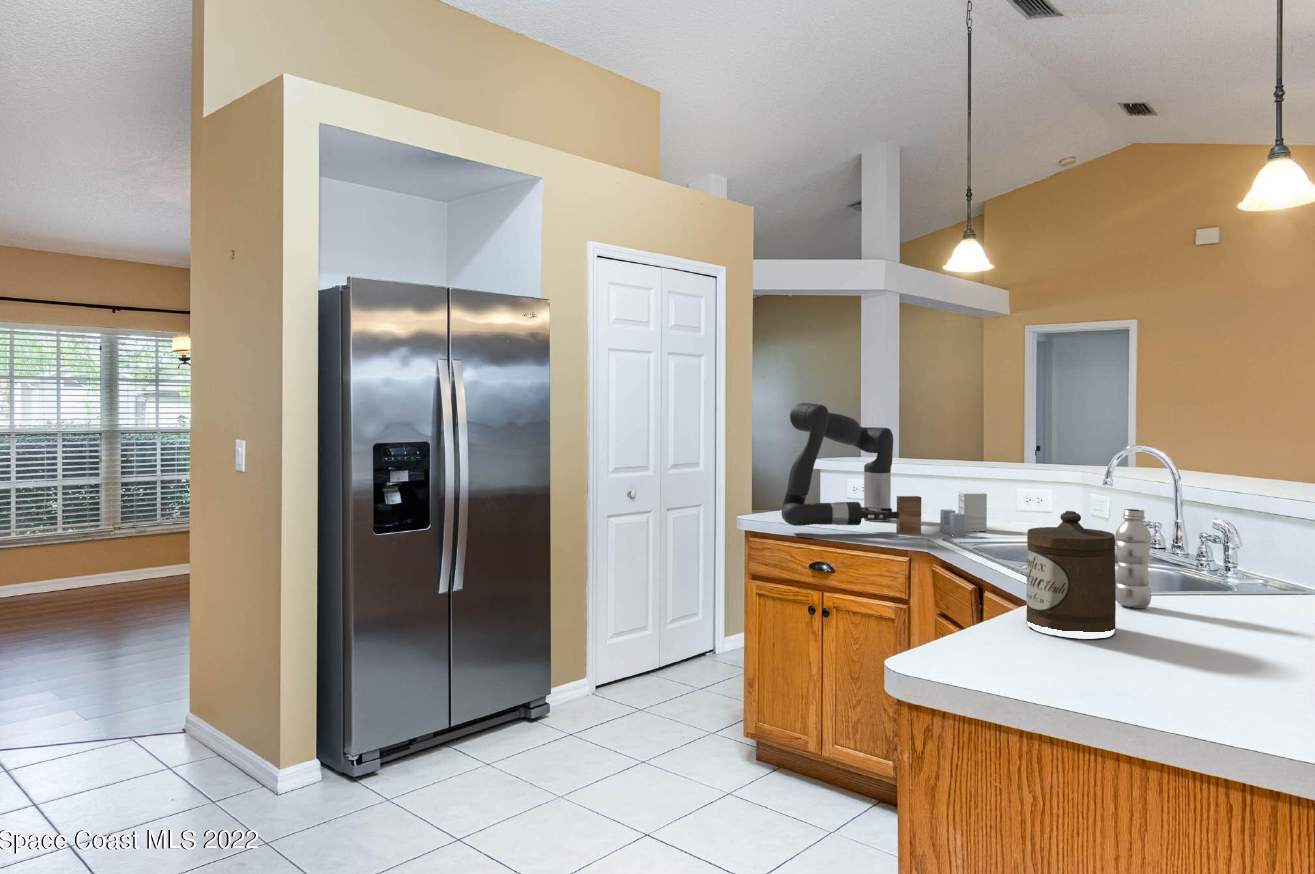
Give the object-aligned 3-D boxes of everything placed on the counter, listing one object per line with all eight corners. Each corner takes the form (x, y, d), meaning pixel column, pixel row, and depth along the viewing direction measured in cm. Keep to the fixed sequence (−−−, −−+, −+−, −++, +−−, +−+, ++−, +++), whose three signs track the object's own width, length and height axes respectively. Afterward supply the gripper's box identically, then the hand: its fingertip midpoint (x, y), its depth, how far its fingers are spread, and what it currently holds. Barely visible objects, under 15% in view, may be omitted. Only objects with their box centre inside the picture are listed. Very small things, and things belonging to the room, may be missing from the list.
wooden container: (1013, 618, 161) (1014, 506, 160) (1090, 619, 161) (1092, 506, 160) (1046, 640, 146) (1048, 517, 146) (1131, 640, 146) (1134, 517, 145)
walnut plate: (896, 533, 267) (896, 496, 267) (918, 533, 267) (918, 496, 267) (899, 534, 264) (899, 497, 264) (921, 534, 264) (921, 497, 264)
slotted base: (940, 530, 272) (940, 509, 271) (951, 530, 272) (951, 509, 271) (953, 536, 260) (953, 514, 259) (964, 536, 260) (964, 514, 259)
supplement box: (980, 528, 276) (980, 490, 275) (986, 532, 269) (987, 493, 268) (957, 528, 277) (957, 490, 276) (963, 531, 269) (963, 493, 269)
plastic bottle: (1138, 612, 165) (1140, 513, 164) (1106, 605, 171) (1108, 509, 170) (1158, 608, 168) (1160, 510, 167) (1126, 601, 174) (1128, 507, 173)
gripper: (849, 504, 258) (901, 504, 258) (840, 499, 273) (889, 499, 272) (849, 528, 259) (901, 528, 259) (840, 522, 273) (889, 521, 273)
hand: (895, 513), depth 266 cm, fingers open, 8 cm apart
